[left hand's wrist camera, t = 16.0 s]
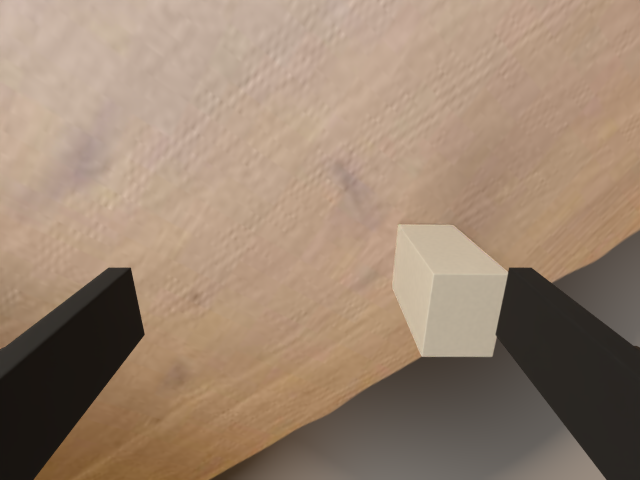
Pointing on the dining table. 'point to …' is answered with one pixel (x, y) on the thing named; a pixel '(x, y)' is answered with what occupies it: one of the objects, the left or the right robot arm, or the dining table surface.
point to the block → (447, 291)
